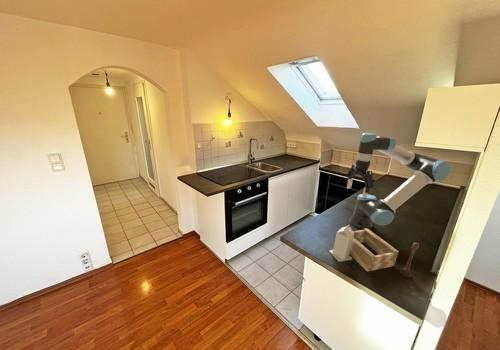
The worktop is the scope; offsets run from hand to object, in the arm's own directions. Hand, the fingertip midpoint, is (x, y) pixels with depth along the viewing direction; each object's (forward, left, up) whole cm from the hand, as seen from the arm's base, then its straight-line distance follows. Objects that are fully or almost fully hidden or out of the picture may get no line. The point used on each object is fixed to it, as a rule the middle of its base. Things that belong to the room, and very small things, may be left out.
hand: (356, 192), depth 129 cm
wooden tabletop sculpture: (-8, +36, -32) cm, 49 cm away
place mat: (+17, +16, -32) cm, 39 cm away
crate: (+2, +19, -32) cm, 37 cm away
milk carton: (+17, +16, -31) cm, 39 cm away
